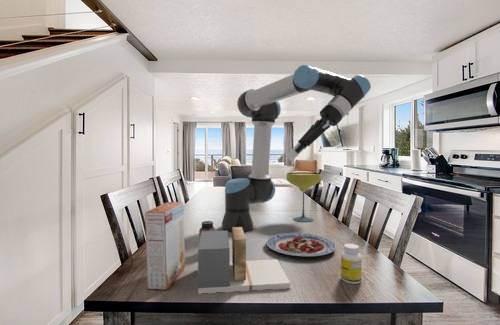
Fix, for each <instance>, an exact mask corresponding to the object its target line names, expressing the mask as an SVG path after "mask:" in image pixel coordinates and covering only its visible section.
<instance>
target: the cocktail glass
mask: <svg viewBox="0 0 500 325" xmlns="http://www.w3.org/2000/svg"><path fill="white" fill-rule="evenodd" d="M321 178H322V174H321V173H319V172H309V171H308V172H303V171H301V172H300V171H299V172H298V171H297V172H293V171H292V172H287V173H286V180H287V182H288V183H289V184H291V185H292V186H295V187H296V188H298V190H300V192H301V193H302V213H301V216H296V217H293V218H292V220H293V221H295V222H299V223H310V222H314V218H312V217H309V216H306V215H305V193H306V192H307V190H308V189H310V188H311V187H313V186H315V185H317V184H319V183H320V182H321V181H322V180H321Z"/></svg>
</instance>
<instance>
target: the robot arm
mask: <svg viewBox="0 0 500 325" xmlns="http://www.w3.org/2000/svg"><path fill="white" fill-rule="evenodd" d="M371 88H372V87H371V81H370V80H369V79H368V78H367V77H365V75H361V74H357V75H356V74H355V75H354V76H353V77H352V78H347V77H344V76H341V75H339V74H336V73H334V72H331V71H328V70H325V69H324V70H323V69H320V68H317V67H315V66H312V65H307V64H303V65H300V66H298V67H297V69H296V70H294V73H293V74H291V75H289V76H288V75H287V76H285V77H283V78H280V79H278V80H276V81H273V82H270V83H269V84H266V85H264V86H262V87H259V88H257V89H253V88H250V89H248V90H246V91H244V92H242V93H241V94H240V96H239V97H238V99H237V103H236V104H237V109H238V110H239V112H240V114H241V115H243V116H244V117H246V118H250V119H251V123H252V124H253V142H252V143H253V146H252V162H251V173H250V174H249V175H248V178H245V177H240V178H239V177H238V178H232V179H230V180H227V181H226V183H225V188H224V194H225V196H224V197H225V198H224V201H225V202H224V203H225V205H224V206H225V207H224V209H225V212H224V215H223V219H222V221H221V229H222V231H228V232H231V233H232V227H242V229H243V232H248V231H252V230H253V229H254V221H253V219H252V216H251V212H250V205H253V204H254V205H255V204H262V203H267V202H269V201H271V200H272V199H273V197H274V196H275V193H276V185H275V184H274V181H273V179H272V176H271V175H270V174H269V173H270V172H269V171H270V159H271V158H270V157H271V155H270V154H271V142H272V141H271V140H272V127H273V125H275V124H276V120H277V119H278V118H279V116H280V114H281V103H280V102H279V101H282V100H286V99H287V98H291V97H294V96H297V95H300V94H302V93H306V92H309V91H314V92H318V93H319V92H320V93H323V94H327V95H330V96H332V97H333V98H332V99H331V100H329V101H328V103H327V104H326V105H325V106H324V107H323V108H322V109H321V110H320V111H319V116H320V119H317V120H316V121H315V122H314V123H313V124H312V125H311V126H310V127H309V128H308V130H307V131H306V132H305V133H304V134H303V135H302V137H301V138H300V139H298V140H297V143H296V145H294V146H293V147H292V149H290V150H289V152H287V153H286V155H285V157H286V158H287V159H288V160H289V161H290V162H294V160H296V158H297V157H298V156H299V155H300V154H301V152H303V151H304V150H306V149H307V148H308V147H310V146H311V145H312V144H313V143H314V142H315V141H316V140H317V139H318V138H319V137H320V136H322V134H324V133H325V132H326V131H328V129H330V128H331V127H336V126H337V125H338V124H339V123H340V122H341V121H342V120H343V119H344V118H345V117H346V116H349V115H350V112H351V111H352V109H354V108H355V107H356V105H357V104H358V103H360V101H361V100H362V99H363V98H365V97H366V95H367V94H368V93H369V92H370V90H371Z"/></svg>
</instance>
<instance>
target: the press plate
mask: <svg viewBox="0 0 500 325" xmlns="http://www.w3.org/2000/svg"><path fill="white" fill-rule="evenodd" d="M244 232H245V231H243V229H242V227H232V232H231V234H232V236H231V237H232V239H231V243H232V244H231V250H232V252H231V253H232V255H231V256H232V258H231V260H232V261H231V262H232V264H233V271H234V279H235V281H237V280H246V261H247V239H246V235H245V233H244Z"/></svg>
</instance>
